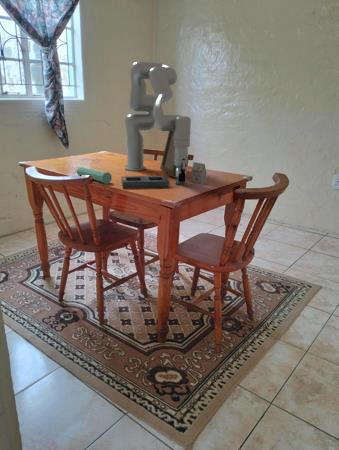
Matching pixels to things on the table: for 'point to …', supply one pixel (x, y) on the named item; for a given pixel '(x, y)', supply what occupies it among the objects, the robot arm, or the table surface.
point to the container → (95, 174)
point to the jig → (145, 182)
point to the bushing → (178, 177)
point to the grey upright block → (198, 173)
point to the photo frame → (169, 156)
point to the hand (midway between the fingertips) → (180, 179)
